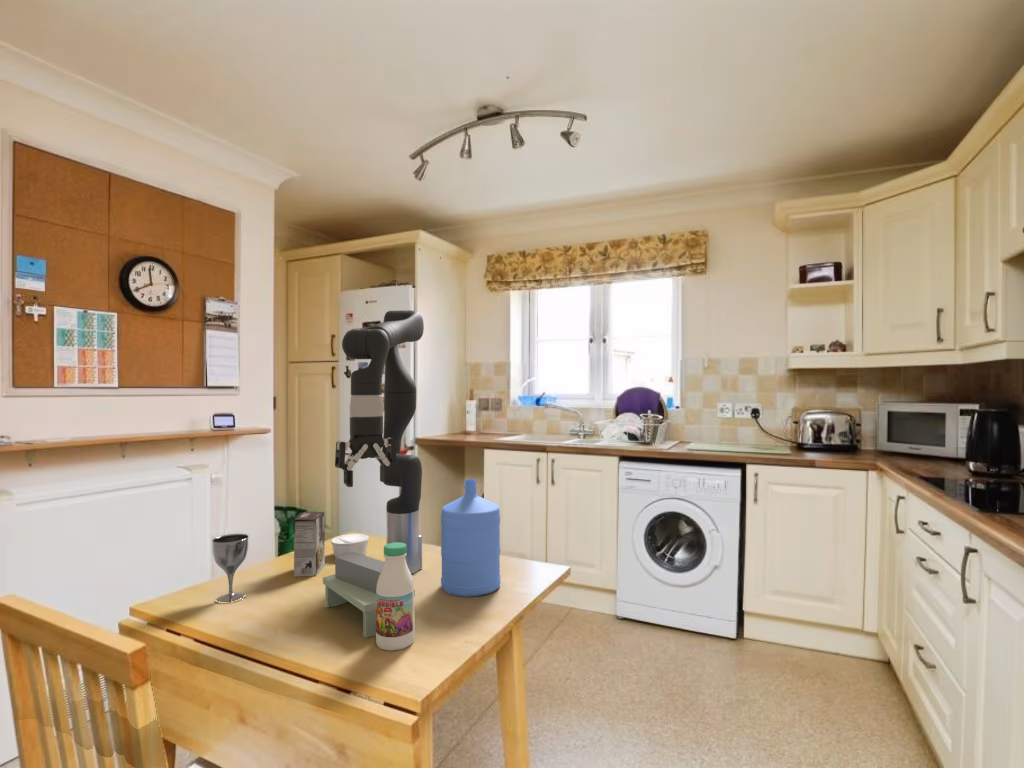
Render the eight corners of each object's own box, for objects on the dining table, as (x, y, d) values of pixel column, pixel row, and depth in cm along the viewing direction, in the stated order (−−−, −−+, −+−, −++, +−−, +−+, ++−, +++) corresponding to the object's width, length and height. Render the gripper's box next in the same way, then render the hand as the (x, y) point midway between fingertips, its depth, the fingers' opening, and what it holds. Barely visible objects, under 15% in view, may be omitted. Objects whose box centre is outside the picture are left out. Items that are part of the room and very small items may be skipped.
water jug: (508, 593, 131) (508, 483, 131) (448, 601, 126) (448, 487, 126) (490, 572, 146) (489, 474, 146) (435, 579, 140) (435, 477, 141)
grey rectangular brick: (353, 572, 127) (353, 551, 127) (400, 589, 116) (400, 566, 116) (335, 577, 123) (335, 557, 123) (382, 596, 112) (382, 573, 112)
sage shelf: (369, 593, 131) (369, 565, 131) (414, 621, 115) (414, 590, 115) (322, 606, 123) (322, 577, 123) (364, 639, 107) (364, 605, 107)
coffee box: (303, 565, 152) (303, 511, 152) (325, 565, 153) (325, 510, 153) (292, 577, 143) (292, 519, 143) (316, 576, 144) (316, 518, 144)
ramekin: (324, 559, 158) (324, 542, 158) (342, 548, 169) (342, 532, 169) (358, 561, 156) (358, 544, 156) (374, 550, 167) (374, 534, 167)
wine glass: (232, 605, 124) (232, 543, 124) (204, 603, 126) (204, 541, 126) (255, 593, 132) (255, 534, 132) (228, 590, 133) (228, 532, 134)
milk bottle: (379, 634, 109) (379, 540, 109) (416, 632, 110) (416, 538, 110) (372, 652, 101) (372, 551, 102) (412, 651, 102) (412, 550, 102)
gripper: (386, 413, 127) (386, 478, 127) (330, 415, 118) (330, 486, 117) (401, 414, 122) (402, 482, 121) (344, 416, 112) (344, 490, 112)
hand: (366, 484), depth 119 cm, fingers open, 8 cm apart
